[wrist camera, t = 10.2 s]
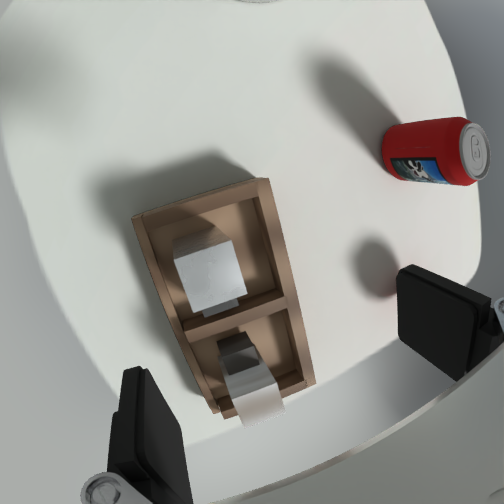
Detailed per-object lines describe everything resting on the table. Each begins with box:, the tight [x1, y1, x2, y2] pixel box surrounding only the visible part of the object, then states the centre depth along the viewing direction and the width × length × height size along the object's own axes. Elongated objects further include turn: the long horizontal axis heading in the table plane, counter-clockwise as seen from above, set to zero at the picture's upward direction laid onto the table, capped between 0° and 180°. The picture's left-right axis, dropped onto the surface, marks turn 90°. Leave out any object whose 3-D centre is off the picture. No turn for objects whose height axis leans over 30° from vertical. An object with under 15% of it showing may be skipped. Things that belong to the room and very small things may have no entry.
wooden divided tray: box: [131, 178, 316, 428], centre depth 27 cm, size 22×12×9 cm, turn 15°
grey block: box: [172, 225, 248, 318], centre depth 25 cm, size 6×4×7 cm, turn 15°
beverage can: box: [382, 117, 491, 186], centre depth 27 cm, size 7×7×12 cm
